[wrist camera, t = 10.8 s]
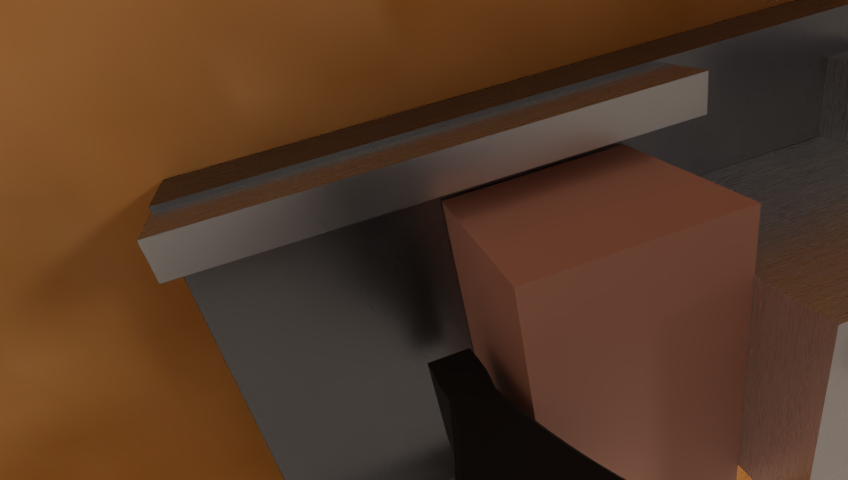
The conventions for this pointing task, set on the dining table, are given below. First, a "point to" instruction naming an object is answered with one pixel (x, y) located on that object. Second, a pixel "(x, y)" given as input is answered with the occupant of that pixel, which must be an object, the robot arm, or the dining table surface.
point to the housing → (796, 313)
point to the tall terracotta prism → (615, 307)
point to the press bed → (427, 230)
